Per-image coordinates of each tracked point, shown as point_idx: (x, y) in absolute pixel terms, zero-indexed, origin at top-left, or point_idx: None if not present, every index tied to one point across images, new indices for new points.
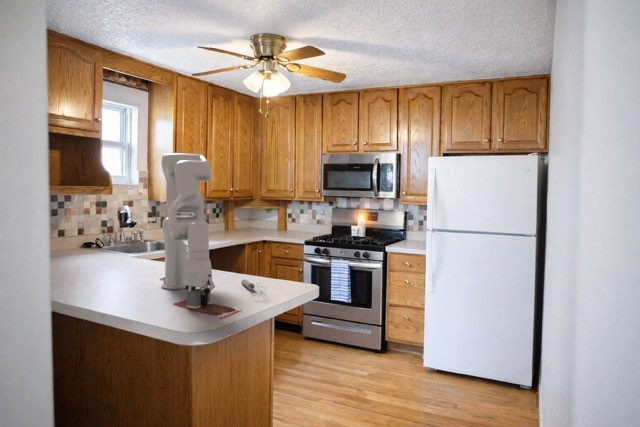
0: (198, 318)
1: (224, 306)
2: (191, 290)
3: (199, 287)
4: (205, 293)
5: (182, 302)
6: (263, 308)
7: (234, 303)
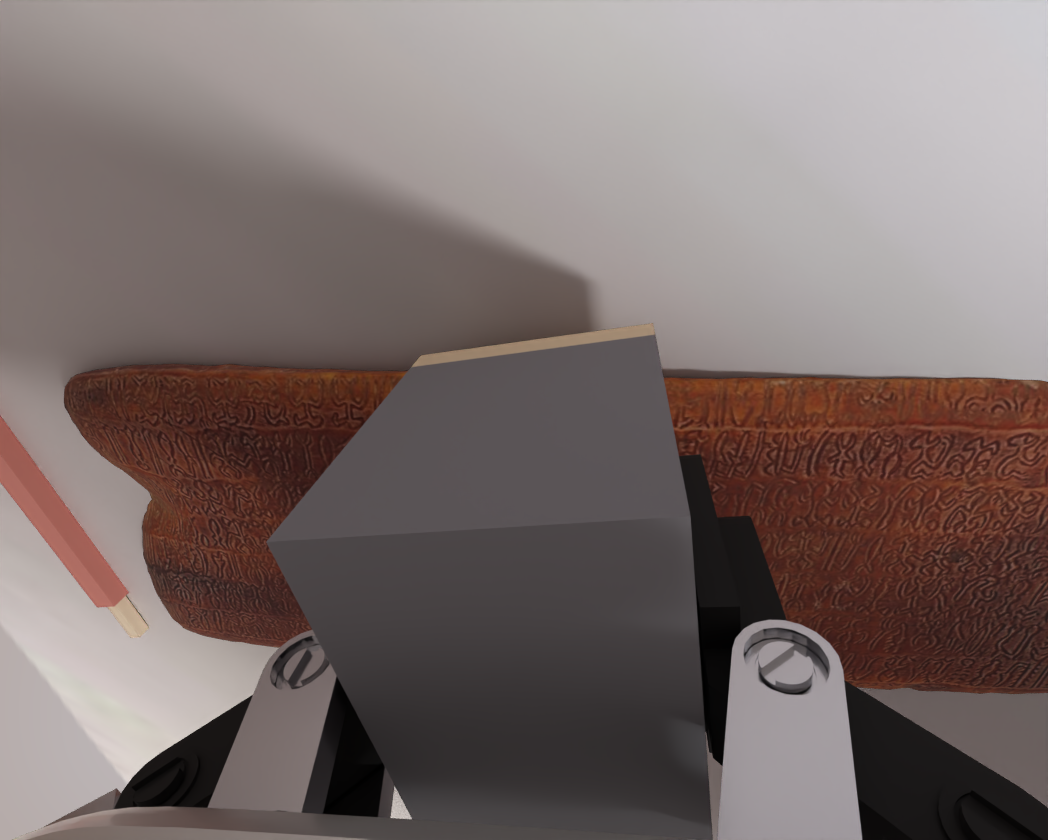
0: (57, 97)
1: None
2: (696, 705)
3: (207, 808)
4: (282, 689)
5: (1042, 544)
6: (107, 733)
7: None
